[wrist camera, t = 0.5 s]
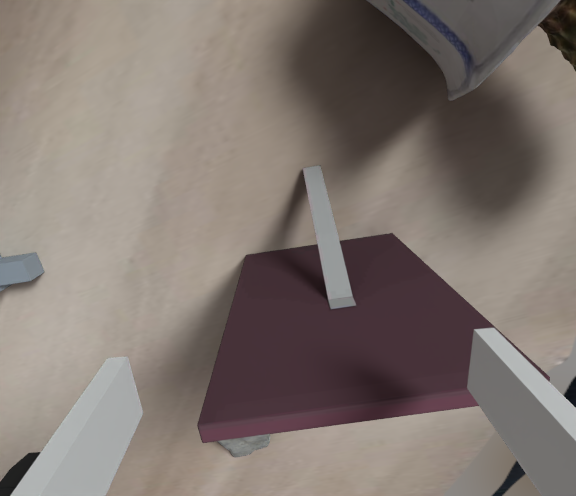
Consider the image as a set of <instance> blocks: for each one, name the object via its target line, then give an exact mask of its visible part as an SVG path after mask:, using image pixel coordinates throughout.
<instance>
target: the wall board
mask: <svg viewBox="0 0 576 496" xmlns="http://www.w3.org/2000/svg"><path fill="white" fill-rule="evenodd" d="M42 273H44V270H43V267H42V265H41V263H40V260H39V258H38V255H37V253H30V254H23V255H16V256H10V257H3V258H2V257H1V255H0V291H2V290H4V289H5V288H7V287H8V286H10V285H12V284H14V283H21V282H27V281H32V280H33V279H35V278H36V277H38V276H39V275H41V274H42Z"/></svg>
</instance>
